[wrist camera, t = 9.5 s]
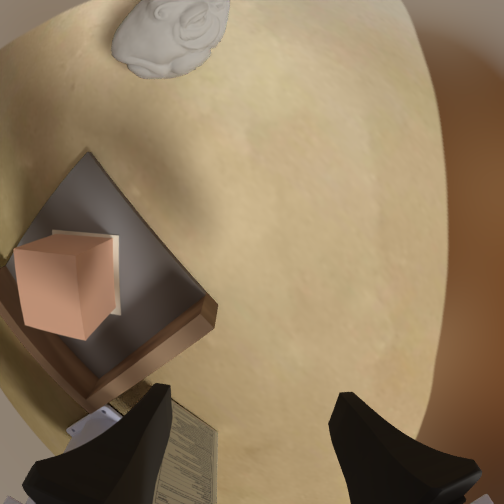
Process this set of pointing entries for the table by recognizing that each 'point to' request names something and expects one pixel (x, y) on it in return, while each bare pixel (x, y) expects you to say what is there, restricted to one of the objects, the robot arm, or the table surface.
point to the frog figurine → (169, 36)
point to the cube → (66, 283)
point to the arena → (126, 294)
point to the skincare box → (188, 462)
